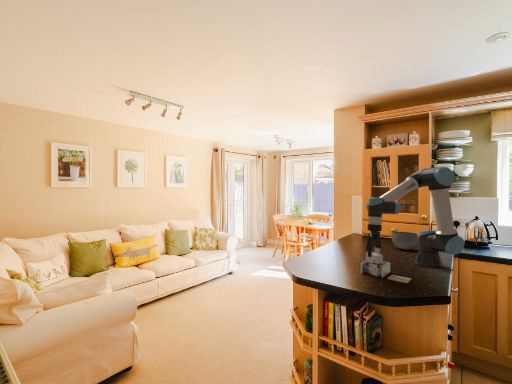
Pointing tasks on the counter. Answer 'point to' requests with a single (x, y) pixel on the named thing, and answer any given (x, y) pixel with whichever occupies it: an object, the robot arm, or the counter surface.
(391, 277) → the pad
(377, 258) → the ink box
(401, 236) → the bowl
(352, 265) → the counter surface
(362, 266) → the cradle
